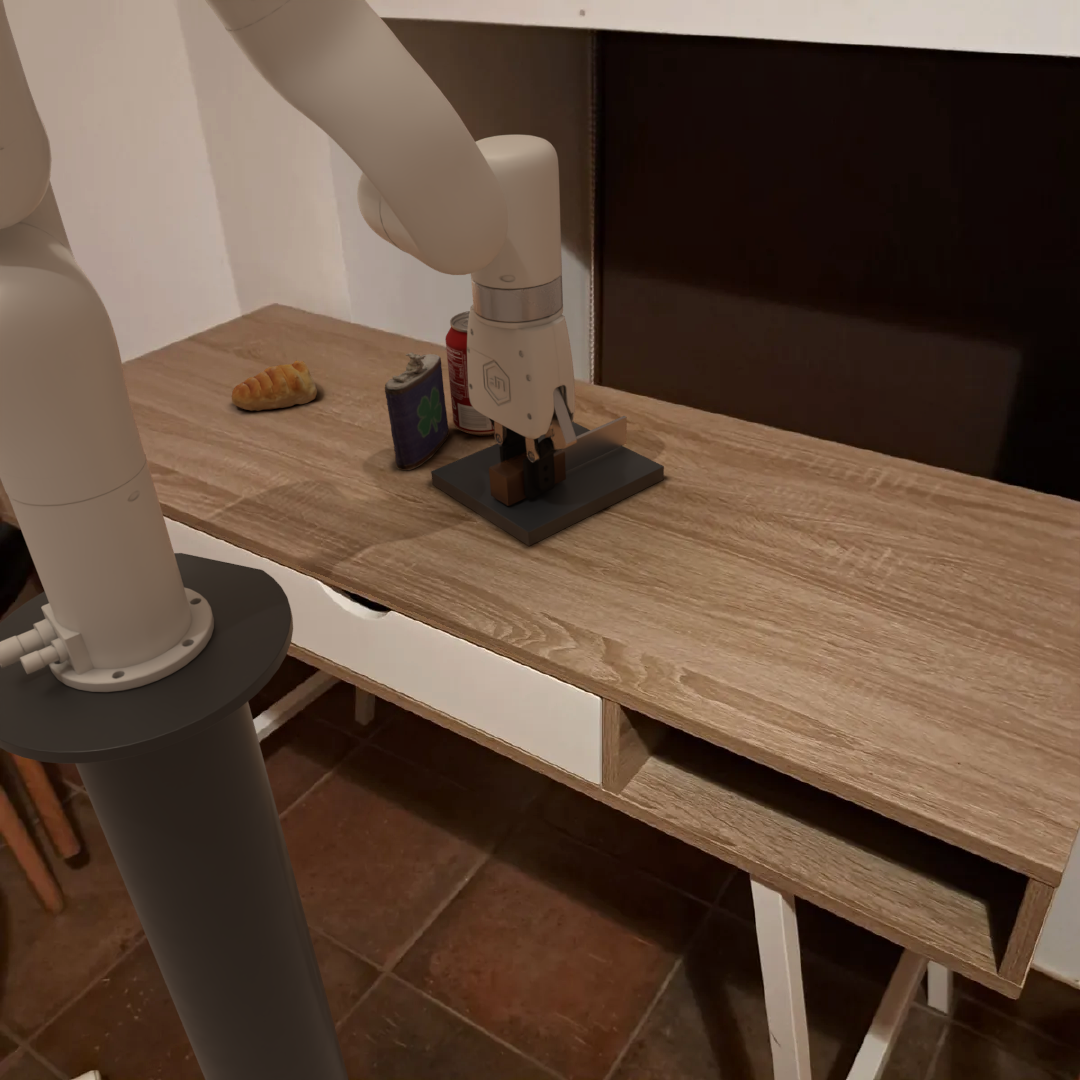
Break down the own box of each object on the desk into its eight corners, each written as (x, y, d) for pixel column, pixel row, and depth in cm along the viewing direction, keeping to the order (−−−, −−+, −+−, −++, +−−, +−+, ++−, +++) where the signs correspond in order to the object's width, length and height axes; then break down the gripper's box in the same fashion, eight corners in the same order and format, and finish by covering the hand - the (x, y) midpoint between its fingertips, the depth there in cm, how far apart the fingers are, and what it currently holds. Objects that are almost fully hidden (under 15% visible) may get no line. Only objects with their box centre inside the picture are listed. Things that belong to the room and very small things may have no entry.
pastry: (242, 421, 113) (235, 389, 111) (226, 399, 118) (219, 369, 116) (322, 400, 116) (317, 369, 114) (304, 380, 121) (298, 350, 119)
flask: (432, 428, 109) (422, 334, 103) (457, 432, 108) (448, 338, 102) (390, 468, 102) (376, 370, 96) (415, 473, 101) (403, 374, 95)
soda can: (495, 444, 106) (487, 336, 99) (441, 432, 109) (430, 326, 102) (527, 418, 111) (522, 313, 104) (475, 406, 113) (467, 304, 107)
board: (528, 546, 90) (528, 532, 89) (432, 484, 99) (430, 471, 98) (663, 479, 98) (664, 466, 98) (562, 428, 108) (562, 416, 107)
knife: (508, 506, 92) (506, 477, 90) (490, 495, 94) (488, 467, 92) (634, 447, 100) (634, 420, 98) (616, 438, 102) (616, 411, 100)
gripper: (425, 284, 88) (445, 469, 98) (546, 334, 77) (554, 535, 87) (493, 263, 91) (506, 443, 102) (617, 308, 81) (617, 504, 91)
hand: (528, 484), depth 94 cm, fingers closed on knife, 2 cm apart
